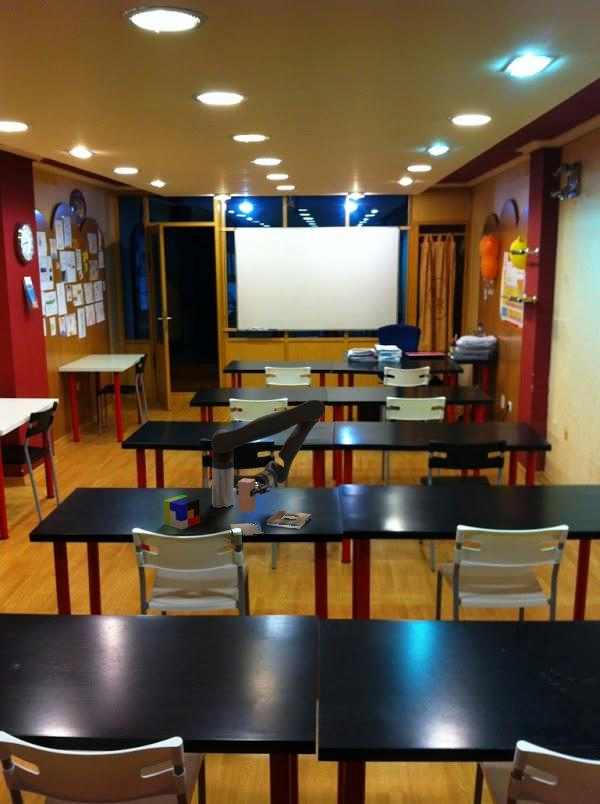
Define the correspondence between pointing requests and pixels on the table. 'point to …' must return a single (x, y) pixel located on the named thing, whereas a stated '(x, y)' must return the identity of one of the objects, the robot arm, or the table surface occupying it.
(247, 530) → the grey pad
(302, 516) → the puzzle board
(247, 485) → the terracotta block
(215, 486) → the robot arm
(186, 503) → the puzzle toy
